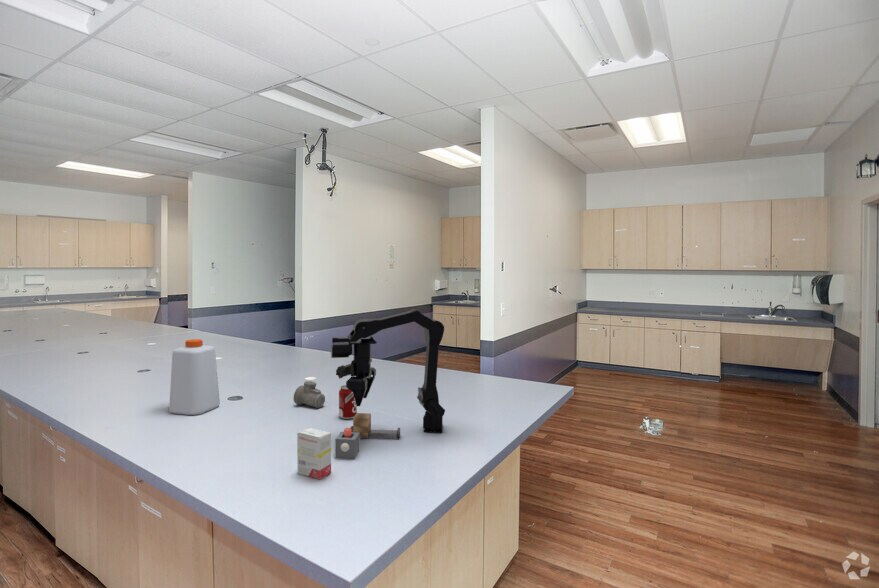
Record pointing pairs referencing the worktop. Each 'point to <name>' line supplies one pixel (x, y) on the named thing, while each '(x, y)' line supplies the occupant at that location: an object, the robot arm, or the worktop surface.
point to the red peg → (347, 433)
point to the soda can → (347, 403)
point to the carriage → (362, 424)
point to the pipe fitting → (309, 395)
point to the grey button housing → (347, 446)
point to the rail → (383, 434)
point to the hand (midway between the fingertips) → (361, 402)
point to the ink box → (314, 453)
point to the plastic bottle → (194, 379)
